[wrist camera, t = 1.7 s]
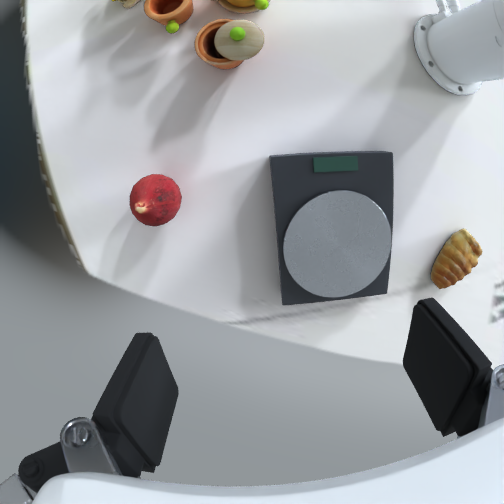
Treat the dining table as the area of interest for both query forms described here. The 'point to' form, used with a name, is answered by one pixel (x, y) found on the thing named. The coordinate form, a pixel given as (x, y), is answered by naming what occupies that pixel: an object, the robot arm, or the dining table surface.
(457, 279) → the pastry
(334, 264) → the scale pan
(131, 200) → the onion
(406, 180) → the dining table surface
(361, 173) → the scale
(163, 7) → the toy tea set
